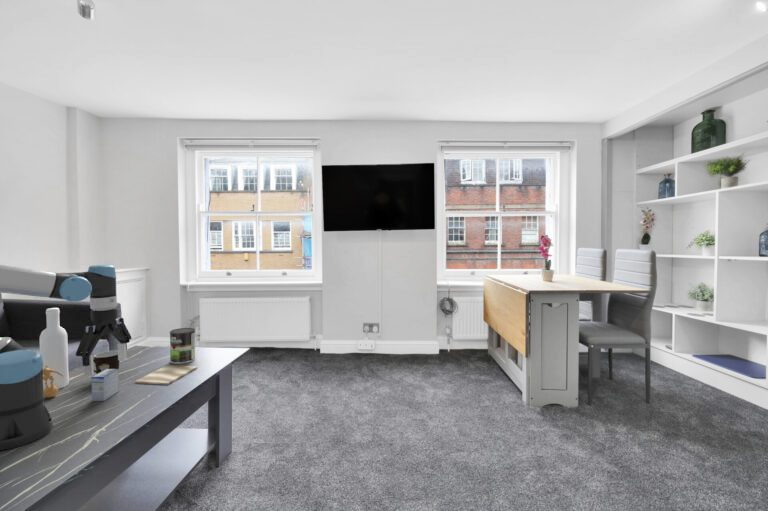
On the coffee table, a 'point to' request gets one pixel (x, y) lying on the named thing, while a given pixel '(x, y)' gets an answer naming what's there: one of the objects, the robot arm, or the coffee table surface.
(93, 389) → the medicine box
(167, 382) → the birch board
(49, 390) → the figurine
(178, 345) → the coffee can
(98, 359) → the coffee mug
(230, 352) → the coffee table surface
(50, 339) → the bottle
